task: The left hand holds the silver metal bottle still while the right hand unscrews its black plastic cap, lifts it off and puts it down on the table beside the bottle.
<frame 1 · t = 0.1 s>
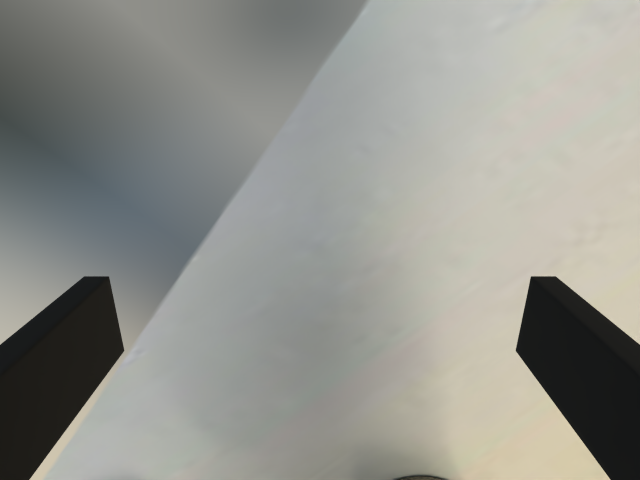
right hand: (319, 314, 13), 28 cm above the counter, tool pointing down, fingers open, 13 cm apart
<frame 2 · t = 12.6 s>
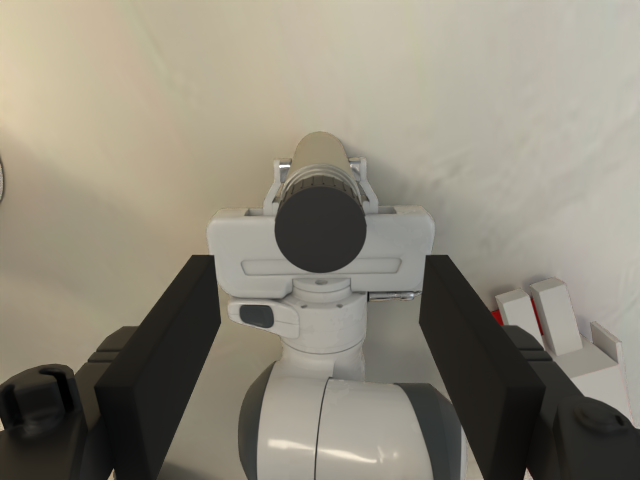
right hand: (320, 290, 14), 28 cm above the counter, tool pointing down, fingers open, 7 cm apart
left hand: (319, 158, 35), fingers closed on bottle, 5 cm apart
toy: (535, 374, 51), on the counter
bottle: (320, 157, 41), on the counter, touching left hand
cap: (320, 229, 20), point 22 cm above the counter, screwed on, not yet turned
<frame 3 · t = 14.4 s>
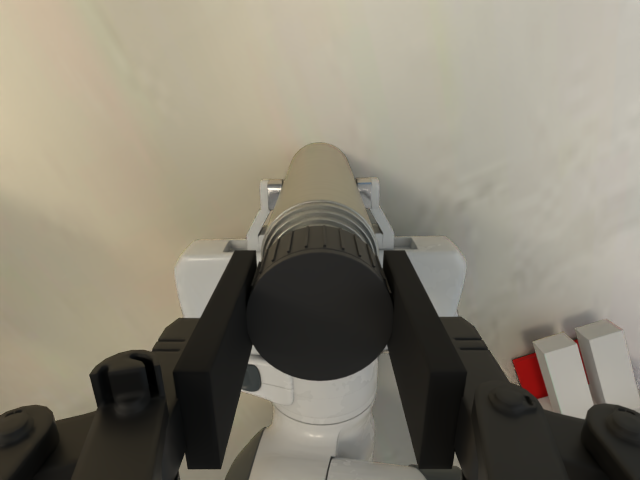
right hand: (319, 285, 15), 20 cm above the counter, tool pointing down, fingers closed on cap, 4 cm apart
toy: (573, 426, 43), on the counter
bottle: (319, 173, 33), on the counter, touching left hand
cap: (319, 316, 13), point 22 cm above the counter, screwed on, not yet turned, touching right hand
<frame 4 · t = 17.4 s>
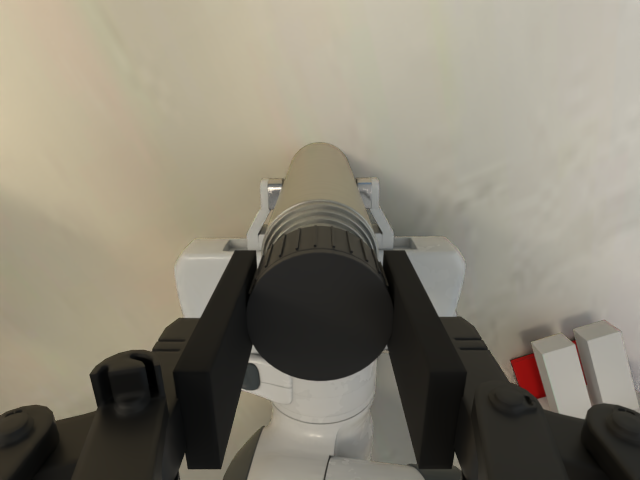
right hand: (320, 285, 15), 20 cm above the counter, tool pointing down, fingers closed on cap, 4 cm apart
toy: (570, 426, 43), on the counter
bottle: (319, 173, 33), on the counter, touching left hand
cap: (319, 316, 13), point 22 cm above the counter, turned 104° so far, risen 0.1 cm, still on its thread, touching right hand
when the right hand's fingers open (2 cm above the counter, at t = 30.1 s): cap drops 2 cm, point 2 cm above the counter.
when the left hand's fingers open (6 cm above the counter, at t = 31.3 s): bottle stays where it is, on the counter.
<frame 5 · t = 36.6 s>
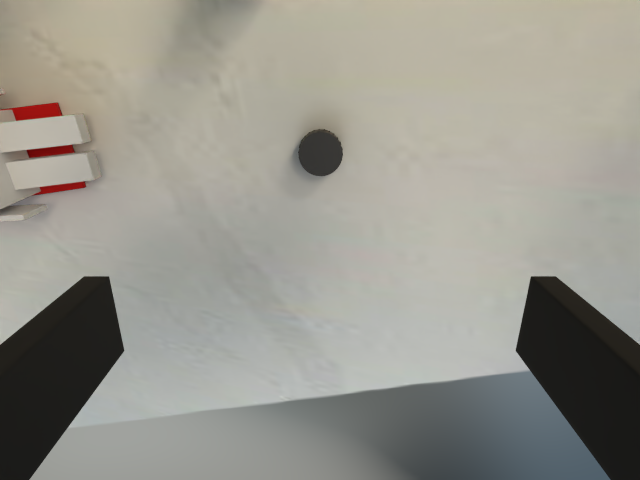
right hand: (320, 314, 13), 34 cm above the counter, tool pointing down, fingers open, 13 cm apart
cap: (320, 153, 43), point 2 cm above the counter, off its thread
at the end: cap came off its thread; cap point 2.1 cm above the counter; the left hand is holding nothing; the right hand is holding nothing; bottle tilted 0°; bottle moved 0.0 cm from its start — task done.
